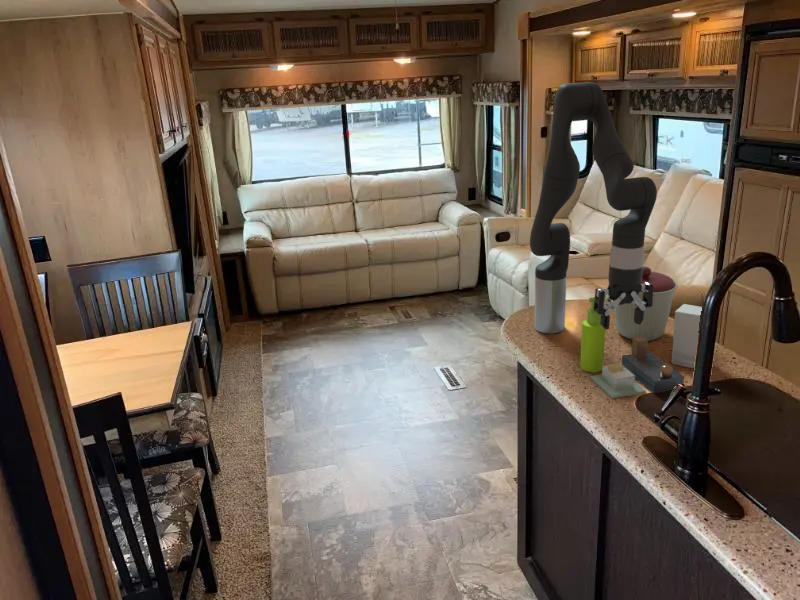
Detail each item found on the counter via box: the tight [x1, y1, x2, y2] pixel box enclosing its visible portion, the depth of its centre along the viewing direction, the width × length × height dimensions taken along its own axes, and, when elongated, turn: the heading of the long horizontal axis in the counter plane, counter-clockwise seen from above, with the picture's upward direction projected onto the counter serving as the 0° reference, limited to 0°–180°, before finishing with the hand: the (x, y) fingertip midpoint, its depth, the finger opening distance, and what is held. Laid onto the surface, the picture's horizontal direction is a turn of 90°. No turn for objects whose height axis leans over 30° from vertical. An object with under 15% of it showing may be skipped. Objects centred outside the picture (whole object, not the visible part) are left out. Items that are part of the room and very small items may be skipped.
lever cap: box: [601, 362, 636, 391], centre depth 155 cm, size 7×5×4 cm
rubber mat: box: [590, 373, 647, 399], centre depth 156 cm, size 11×9×1 cm
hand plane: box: [621, 336, 685, 395], centre depth 157 cm, size 15×8×8 cm, turn 11°
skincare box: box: [671, 303, 703, 369], centre depth 161 cm, size 8×7×16 cm
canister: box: [613, 266, 679, 341], centre depth 179 cm, size 18×18×21 cm
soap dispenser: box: [579, 296, 607, 373], centre depth 162 cm, size 6×7×20 cm
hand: (621, 325), depth 150 cm, fingers open, 8 cm apart
